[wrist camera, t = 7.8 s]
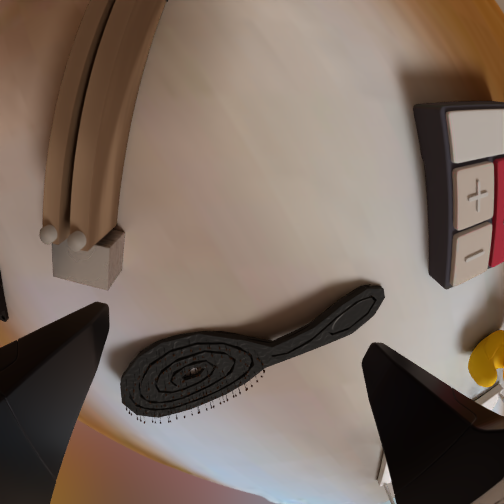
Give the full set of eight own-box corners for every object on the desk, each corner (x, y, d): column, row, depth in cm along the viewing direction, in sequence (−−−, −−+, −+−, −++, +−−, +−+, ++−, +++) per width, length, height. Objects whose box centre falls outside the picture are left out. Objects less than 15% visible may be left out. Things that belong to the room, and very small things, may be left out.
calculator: (449, 296, 20) (446, 105, 14) (423, 272, 24) (410, 104, 18) (520, 257, 20) (523, 104, 14) (494, 241, 24) (491, 100, 18)
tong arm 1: (100, 222, 19) (64, 250, 14) (159, -24, 12) (141, -63, 7) (117, 225, 19) (85, 255, 14) (177, -24, 13) (165, -65, 8)
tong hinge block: (72, 258, 20) (53, 276, 17) (72, 221, 19) (51, 235, 16) (122, 269, 21) (108, 290, 18) (125, 232, 20) (109, 248, 17)
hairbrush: (401, 338, 23) (152, 438, 23) (382, 317, 26) (155, 411, 27) (387, 260, 20) (95, 385, 20) (364, 243, 23) (106, 358, 24)
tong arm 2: (76, 217, 19) (37, 243, 13) (139, -24, 12) (117, -61, 7) (93, 220, 19) (55, 248, 14) (156, -24, 12) (139, -63, 7)
